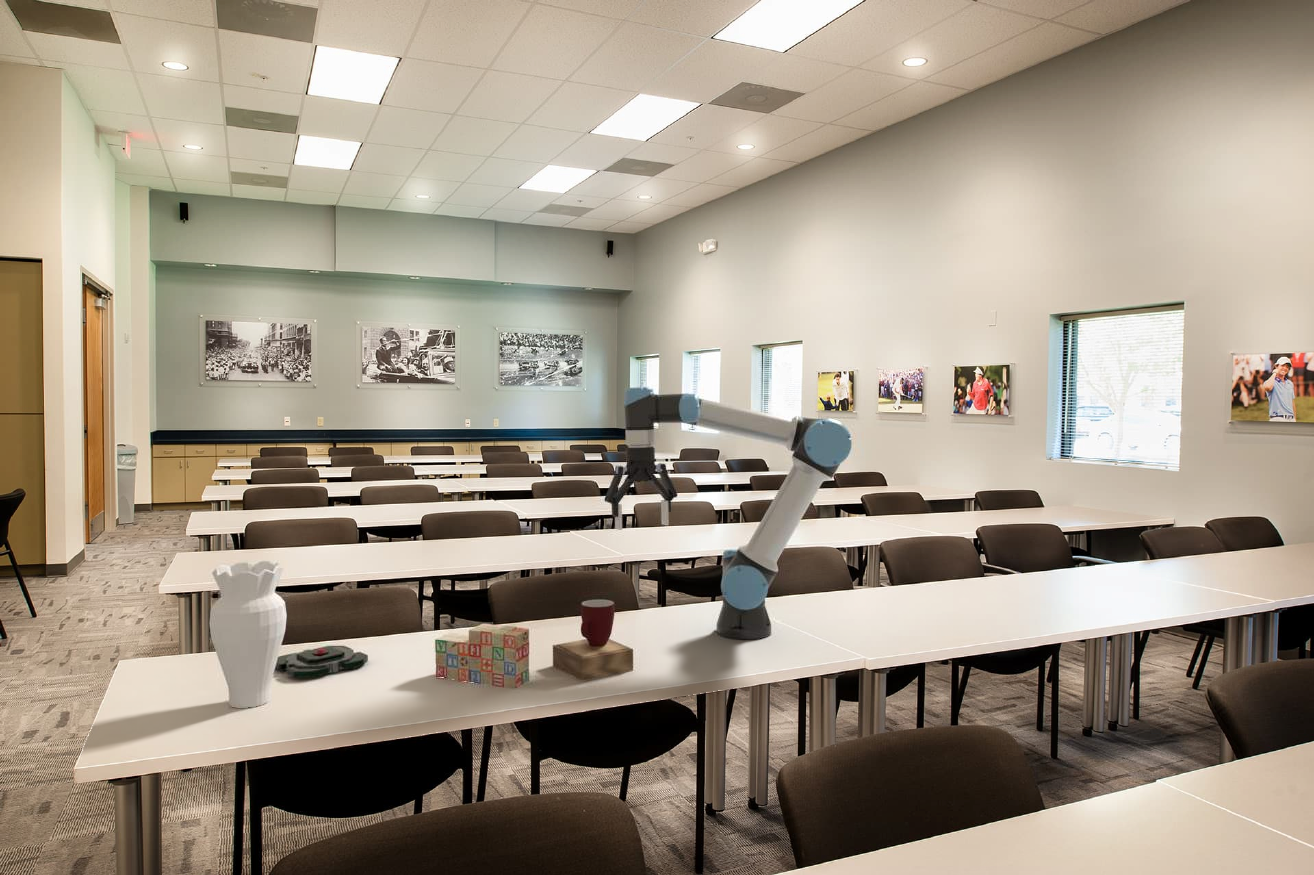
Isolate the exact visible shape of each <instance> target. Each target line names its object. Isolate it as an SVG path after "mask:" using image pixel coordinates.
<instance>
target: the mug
mask: <svg viewBox="0 0 1314 875" xmlns="http://www.w3.org/2000/svg"><path fill="white" fill-rule="evenodd" d="M615 610H616V608H615V602H614V601H613V600H609V599H588V600H585V601H582V602H581V603H580V615H581V625H580V633H581V636H582V637H583V638H585V639H587V641H588V642H589V644H590V645H591V646H596V647H599V646H604V645H606V644H607V642H608V640H609V639H610V637H611V635H612V631H613V626H614V619H615Z"/></svg>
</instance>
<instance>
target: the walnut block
mask: <svg viewBox="0 0 1314 875" xmlns="http://www.w3.org/2000/svg"><path fill="white" fill-rule="evenodd" d="M552 666H553V667H555V668H556V669H558V670H560V671H562V672H564V673H565V674H568V675H569V676H571V677H573V678H575V679H577V680H579V681H581V682H585V681H589V680H593V679H598V678H602V677H608V676H612V675H617V674H621V673H626V672H631V671H633V670H634V649H633V648H631V647H629V646H626V645H624V644H622V643H620V642H617V641H615V640H613V639H610V638H609V640H608V642H607V644H606V645H604V646H599V647H596V646H591V645H590V644H589V642H588V641H587V639H586V638H585V639H584V638H583V639H580V640H574V641H568V642H563V643H558V644H552Z"/></svg>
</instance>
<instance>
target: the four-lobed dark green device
mask: <svg viewBox="0 0 1314 875" xmlns="http://www.w3.org/2000/svg"><path fill="white" fill-rule="evenodd" d="M368 662H369V656H368V654H366V653H364V652H361V651H355V652H354V649H352V647H348V646H346V645H326V646H321V647H316V648H312V649H310V648H308V649H303V650H302V651H299V652H293V653H289V654H283V655H278V659H277V662H276V666H275V669H277V670H278V671H280V670H281V671H282V670H285V673H286V675H289V676H291V677H292V678H314V677H318V676H323V675H327V674H329V673H337V672H340V671H341V670H348V669H354V668H356V667H362V666H364V665H365V664H366V663H368Z"/></svg>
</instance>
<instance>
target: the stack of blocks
mask: <svg viewBox="0 0 1314 875" xmlns="http://www.w3.org/2000/svg"><path fill="white" fill-rule="evenodd" d="M434 646H435V647H434V650H435V651H434V652H435V677H444V678H447V679H446V680H448V679H454V680H459V681H458V682H461V681H467V682H466V683H468V682H469V683H470V682H474V683H473V684H476V683H477V685H484V684H486V685H485V686H492V687H498V688H504V689H505V688H506V689H513V690H515V689H518V688H519V687H521V686H523V685H524V684H526V683H527V681H528V682H529V681H530V629H529V628H523V627H518V626H514V625H513V626H512V625H502V624H491V623H481V624H479V625H476V626H475V627H473V628H471V629H469V630H468V634H465V633H459V632H458V633H456V632H448V633H446V634H444V635H441V636H439V637H437V638H435V640H434ZM454 680H453V681H454Z"/></svg>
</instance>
